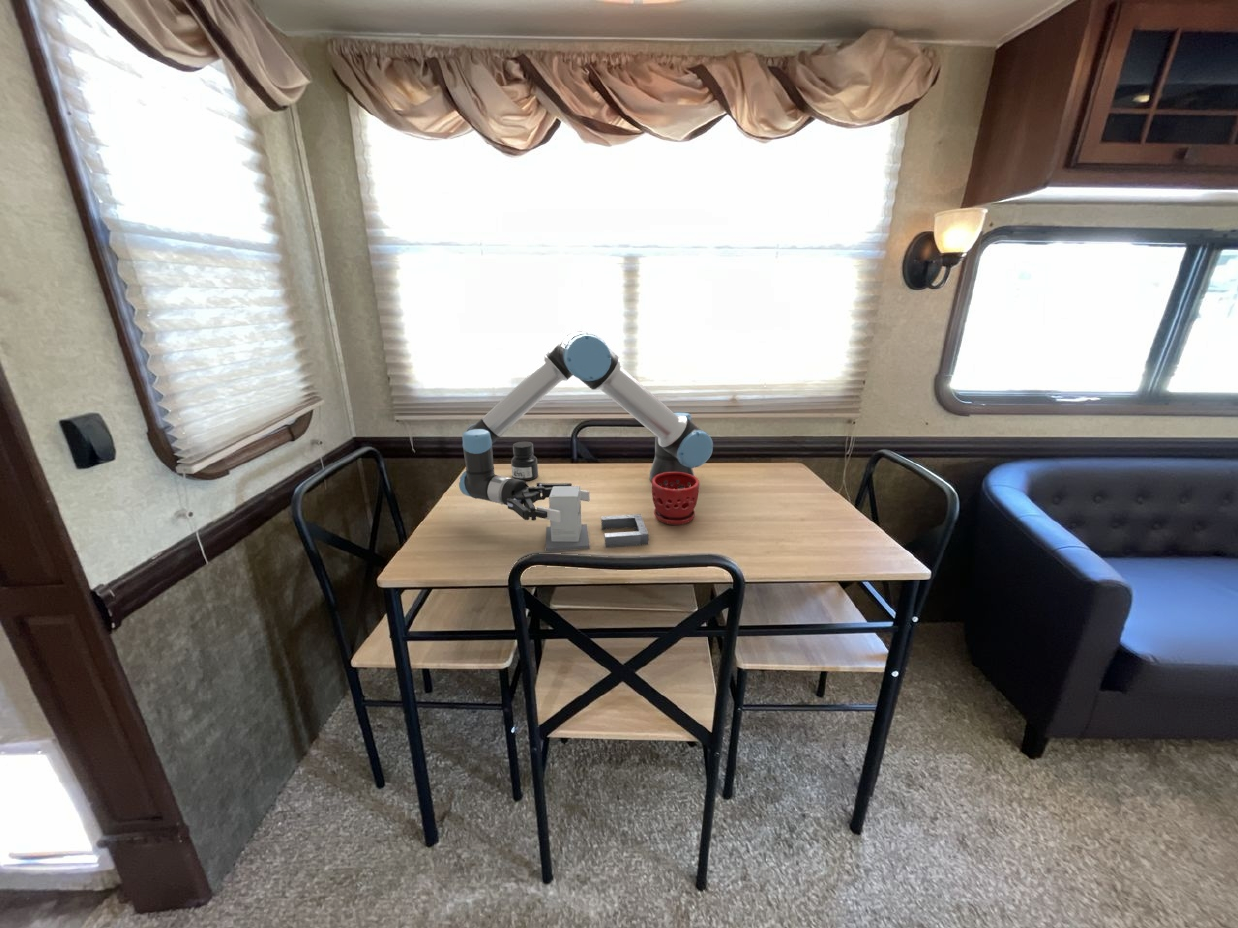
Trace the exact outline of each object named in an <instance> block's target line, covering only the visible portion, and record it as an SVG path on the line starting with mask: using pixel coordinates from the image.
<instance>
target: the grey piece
mask: <svg viewBox="0 0 1238 928" xmlns="http://www.w3.org/2000/svg"><path fill="white" fill-rule="evenodd" d="M600 517H601V518H600V521H601V522H600V524H601V527H600V528H601V530H603V531H604V530H618V529H633V528H634V529H635V531H625V532H624V531H621V532H606V533H605V532H604V546H605V548H606V549H607V548H620V547H622V548H624V547H634V546H636V547H637V546H649V532H648V530H647V526H646V524H645V522H644V518H643V516H642V514H641V513H636V514H635V513H634V514H622V515H620V514H619V515H605V516H602V515H601V516H600Z"/></svg>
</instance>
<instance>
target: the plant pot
mask: <svg viewBox="0 0 1238 928" xmlns="http://www.w3.org/2000/svg"><path fill="white" fill-rule="evenodd" d="M676 480H679V483H677V482H676ZM664 481H667V484H666V485H664ZM688 482H689V483H690V484H689V485H688ZM670 483H673V485H670ZM658 484H661V486H659V485H658ZM679 485H683V486H682V487H684V488H679V487H678V486H679ZM699 493H700V480H699V479H698V478H697V476H695V475H694V476H693V475H691V474H688V473H684V472H665V473H661V474H658V475H656V476H655V477H654V478H653V479H652V482H651V498H652V501H653V505H654V507H655V508H654V510H653V514H654V516H655V518H656V519H657V520H658V521H659V522H662V523H664V524H667V525H673V526H675V525H677V526H679V525H686V524H688V523H690V522H691V521H692V520H694V518H695V516H696V512H695V510H694V509H696V508H695V507H696V505H697V502H698V497H699Z"/></svg>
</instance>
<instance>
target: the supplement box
mask: <svg viewBox="0 0 1238 928" xmlns="http://www.w3.org/2000/svg"><path fill="white" fill-rule="evenodd" d="M580 490H581V485H580V486H579V485H572V486H553V488H552V490H551V493H550V496H549V498H548V503H549V504H548V505H549V508H550V509H554V510H558V511H560V517H561V521H560V522H556V521H552V520H549V521H550V522H549V523H550V526H551V541H552V542H579V538H580V533H581V529H582V528H581V524H582V503H581V501H582V500H581V499H580Z"/></svg>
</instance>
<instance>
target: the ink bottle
mask: <svg viewBox="0 0 1238 928" xmlns="http://www.w3.org/2000/svg"><path fill="white" fill-rule="evenodd" d="M512 453H513V457H512V458H511V460H510V465H511V474H512V475H511V476H512V477H511V478H514V479H519V480H523V481H525V482H527V481H532V480H534V479H536V478H538V476H539V466H538V458H537V457H536V456H535V455H534V443H533V442H531V441H518V442H515V443H513V444H512Z"/></svg>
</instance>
